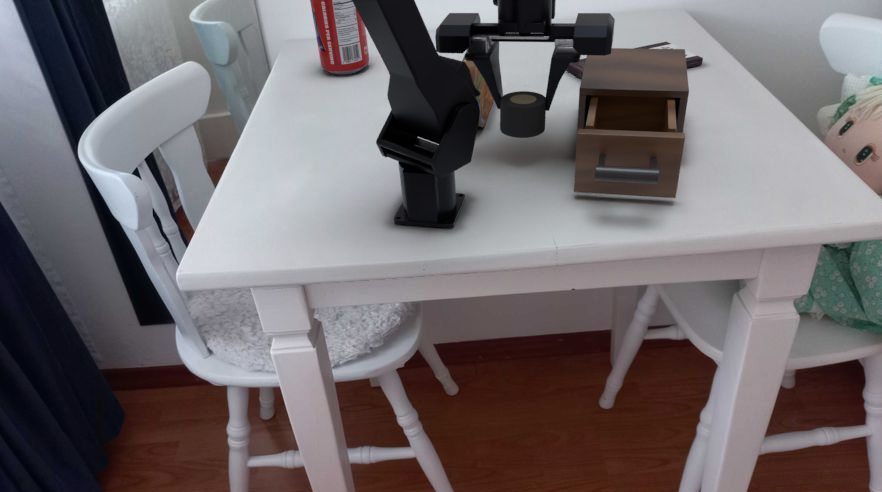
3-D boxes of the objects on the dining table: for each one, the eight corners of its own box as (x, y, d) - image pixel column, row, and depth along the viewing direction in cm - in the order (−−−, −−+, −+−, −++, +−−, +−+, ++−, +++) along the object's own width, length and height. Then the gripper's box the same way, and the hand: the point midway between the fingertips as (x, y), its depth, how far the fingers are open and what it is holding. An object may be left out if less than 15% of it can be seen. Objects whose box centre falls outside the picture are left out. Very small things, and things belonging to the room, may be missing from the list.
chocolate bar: (565, 62, 106) (666, 41, 110) (564, 68, 106) (665, 47, 111) (596, 81, 99) (702, 58, 103) (595, 87, 99) (702, 64, 104)
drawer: (676, 219, 69) (686, 156, 65) (570, 212, 71) (573, 151, 67) (673, 145, 82) (681, 89, 78) (582, 141, 84) (586, 87, 80)
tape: (541, 139, 79) (543, 108, 76) (496, 136, 80) (496, 106, 78) (547, 121, 83) (549, 92, 81) (504, 119, 84) (504, 89, 82)
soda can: (350, 80, 109) (335, -22, 100) (312, 73, 112) (294, -26, 104) (379, 63, 114) (368, -35, 105) (342, 58, 118) (327, -38, 109)
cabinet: (678, 163, 80) (689, 91, 75) (575, 158, 83) (579, 88, 78) (675, 115, 90) (684, 49, 85) (584, 112, 93) (588, 47, 88)
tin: (480, 138, 89) (478, 73, 84) (456, 137, 90) (452, 73, 84) (496, 92, 101) (495, 33, 96) (475, 92, 101) (472, 34, 96)
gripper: (622, -56, 75) (610, 84, 84) (453, -52, 79) (460, 80, 89) (617, -31, 67) (605, 122, 76) (429, -28, 71) (439, 116, 80)
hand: (524, 108), depth 80 cm, fingers closed on tape, 5 cm apart
